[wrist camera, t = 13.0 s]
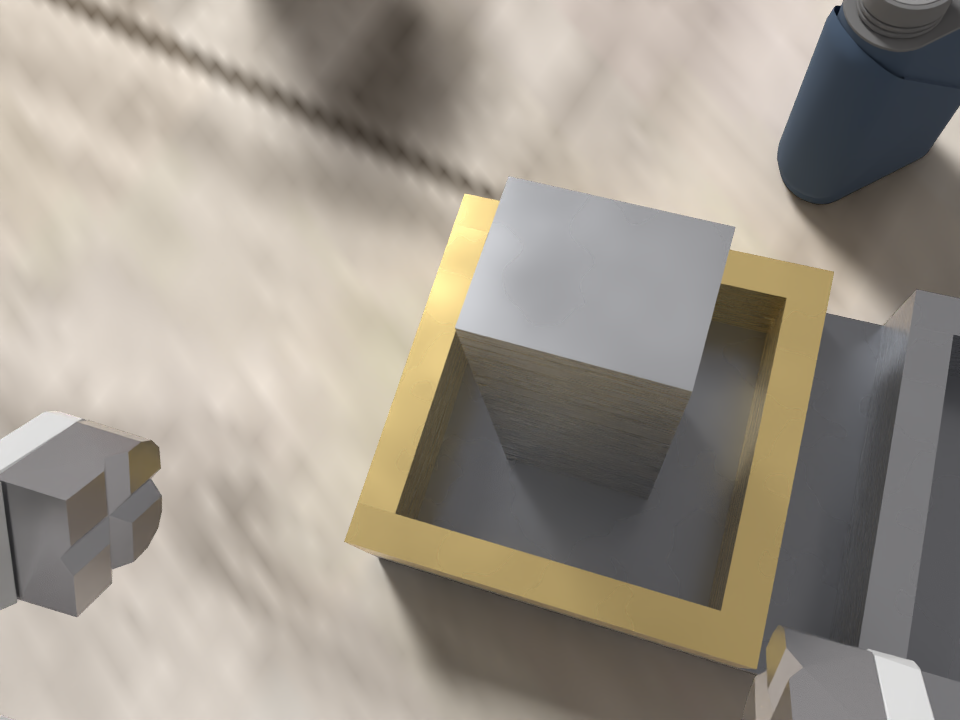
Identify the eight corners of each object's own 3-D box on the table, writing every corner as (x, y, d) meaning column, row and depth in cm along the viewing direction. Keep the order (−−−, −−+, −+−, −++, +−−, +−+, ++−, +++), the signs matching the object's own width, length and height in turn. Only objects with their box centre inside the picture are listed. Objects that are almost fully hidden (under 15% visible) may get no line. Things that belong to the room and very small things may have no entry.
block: (647, 500, 23) (692, 391, 13) (506, 458, 23) (454, 328, 14) (674, 397, 23) (735, 227, 14) (537, 360, 24) (508, 176, 15)
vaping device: (950, 148, 26) (1228, -236, 15) (802, 222, 26) (970, -111, 15) (900, 88, 27) (1126, -316, 16) (756, 159, 27) (881, -200, 15)
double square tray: (1251, 829, 20) (1386, 864, 16) (377, 556, 24) (344, 541, 21) (1263, 426, 22) (1380, 387, 19) (479, 249, 27) (465, 193, 24)
